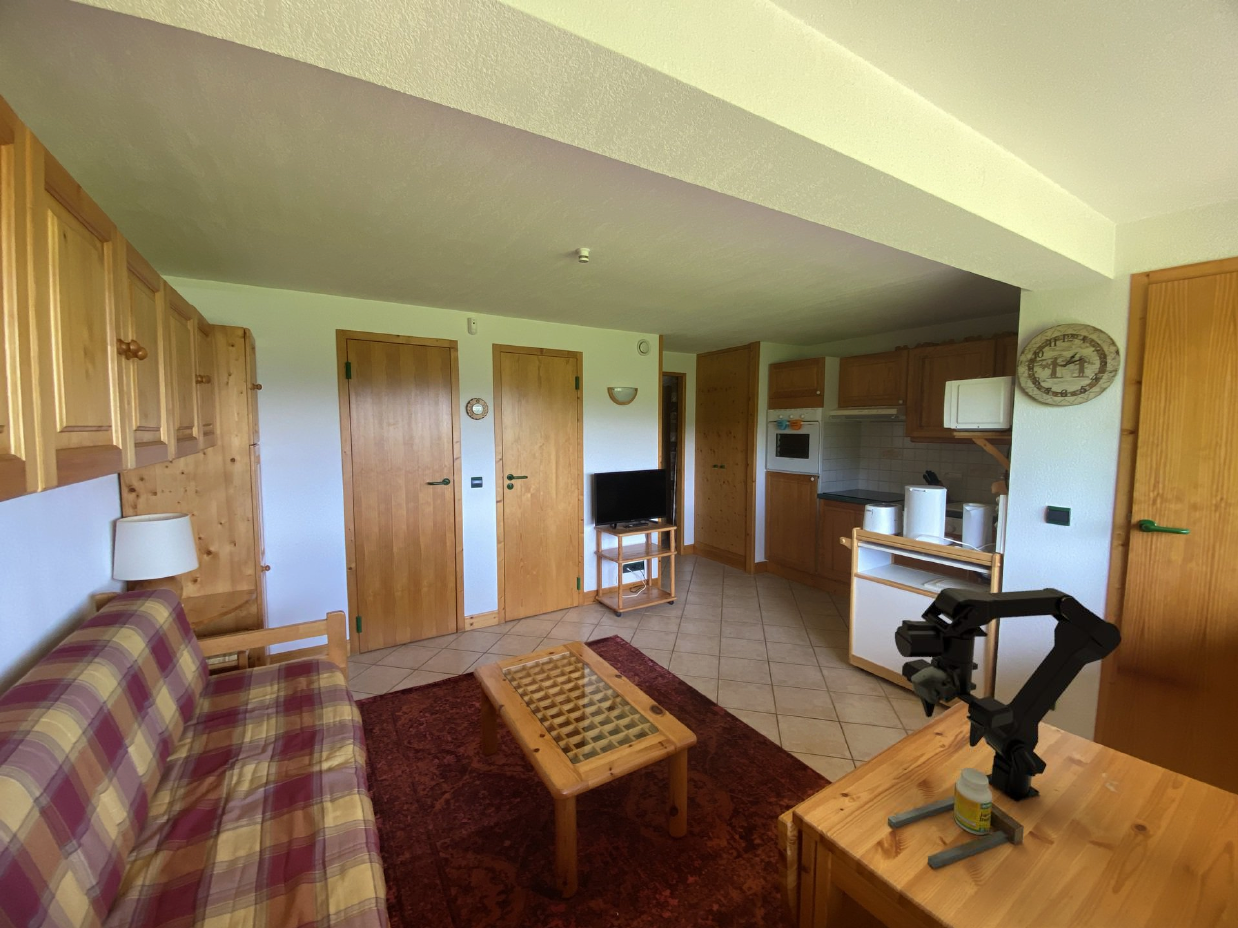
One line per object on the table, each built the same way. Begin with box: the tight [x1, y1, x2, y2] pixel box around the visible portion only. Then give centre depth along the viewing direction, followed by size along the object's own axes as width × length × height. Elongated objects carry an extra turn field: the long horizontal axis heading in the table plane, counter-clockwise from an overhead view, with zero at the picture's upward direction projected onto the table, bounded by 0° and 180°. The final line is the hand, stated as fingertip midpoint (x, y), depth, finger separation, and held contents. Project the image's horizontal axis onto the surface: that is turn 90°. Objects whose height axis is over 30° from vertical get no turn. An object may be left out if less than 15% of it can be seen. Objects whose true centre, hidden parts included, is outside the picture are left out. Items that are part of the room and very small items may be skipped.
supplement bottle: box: [953, 767, 993, 836], centre depth 88 cm, size 5×5×10 cm
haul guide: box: [887, 782, 1025, 870], centre depth 87 cm, size 19×11×3 cm, turn 107°
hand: (949, 730), depth 96 cm, fingers open, 9 cm apart
